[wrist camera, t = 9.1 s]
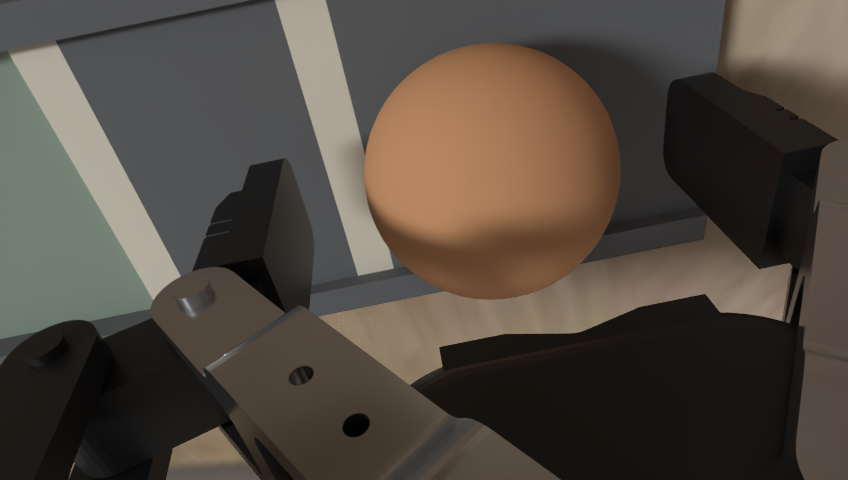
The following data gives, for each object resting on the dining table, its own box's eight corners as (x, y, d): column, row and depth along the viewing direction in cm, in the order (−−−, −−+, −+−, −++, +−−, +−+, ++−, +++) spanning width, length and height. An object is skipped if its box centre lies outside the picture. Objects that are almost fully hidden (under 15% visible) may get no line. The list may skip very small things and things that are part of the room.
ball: (570, -8, 12) (682, 68, 8) (573, 193, 15) (657, 324, 11) (338, 39, 12) (332, 139, 8) (385, 230, 15) (399, 376, 11)
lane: (728, -153, 11) (831, -153, 9) (685, 219, 17) (744, 284, 14) (-436, 87, 12) (-646, 152, 9) (-122, 381, 17) (-202, 473, 14)
